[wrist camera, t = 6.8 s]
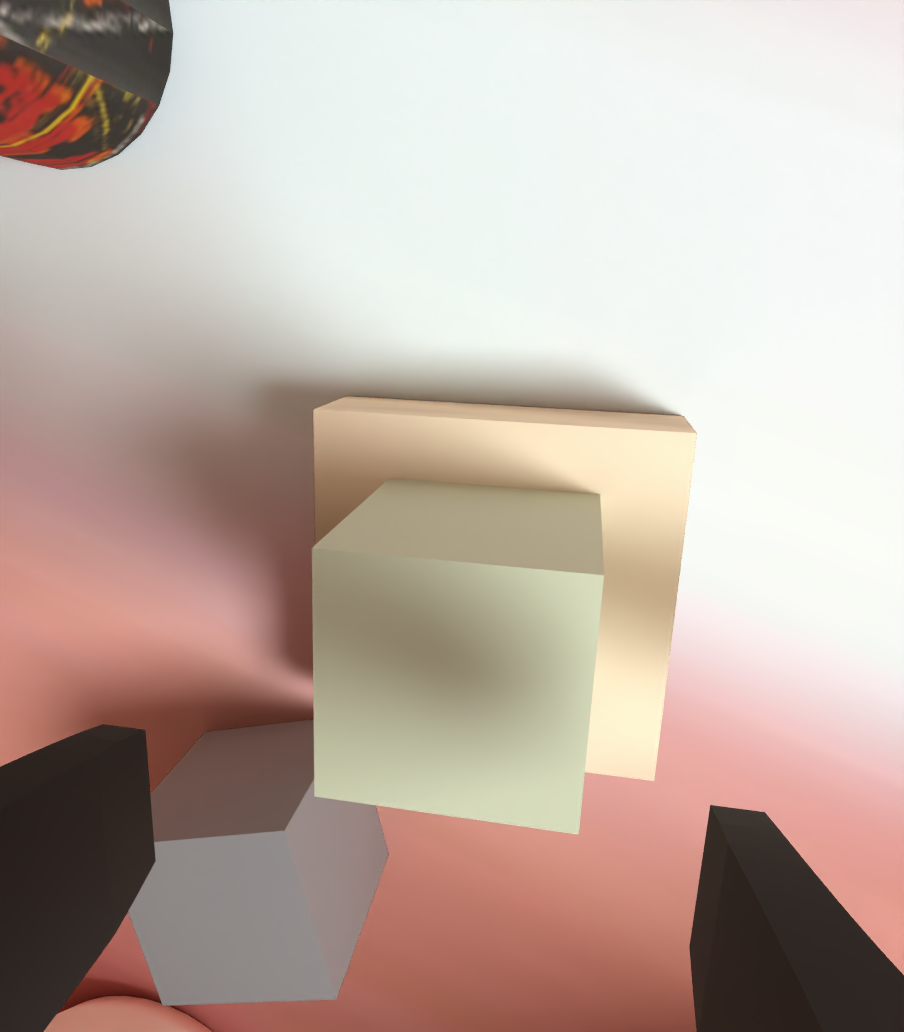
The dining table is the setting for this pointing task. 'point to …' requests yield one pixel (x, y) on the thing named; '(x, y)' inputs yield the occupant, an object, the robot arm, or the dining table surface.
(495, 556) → the sage cube
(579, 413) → the birch slab
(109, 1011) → the alcohol
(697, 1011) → the robot arm
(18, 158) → the deodorant
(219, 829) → the grey cube
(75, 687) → the dining table surface
